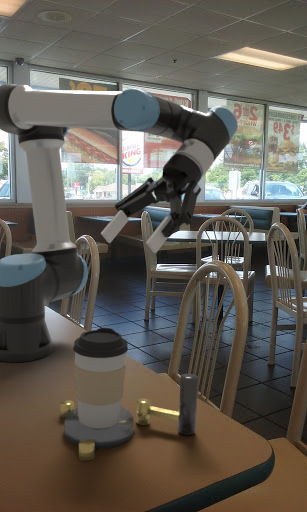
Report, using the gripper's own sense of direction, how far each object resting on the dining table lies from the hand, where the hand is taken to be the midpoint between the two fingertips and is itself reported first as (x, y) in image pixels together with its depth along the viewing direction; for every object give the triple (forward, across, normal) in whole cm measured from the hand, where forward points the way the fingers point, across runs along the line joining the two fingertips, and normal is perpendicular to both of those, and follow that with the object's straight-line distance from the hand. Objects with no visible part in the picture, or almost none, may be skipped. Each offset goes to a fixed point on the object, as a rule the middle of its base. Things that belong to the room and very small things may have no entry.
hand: (126, 243), depth 88 cm
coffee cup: (+28, +8, +13) cm, 32 cm away
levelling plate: (+29, +8, +14) cm, 33 cm away
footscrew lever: (+22, +14, +20) cm, 34 cm away
